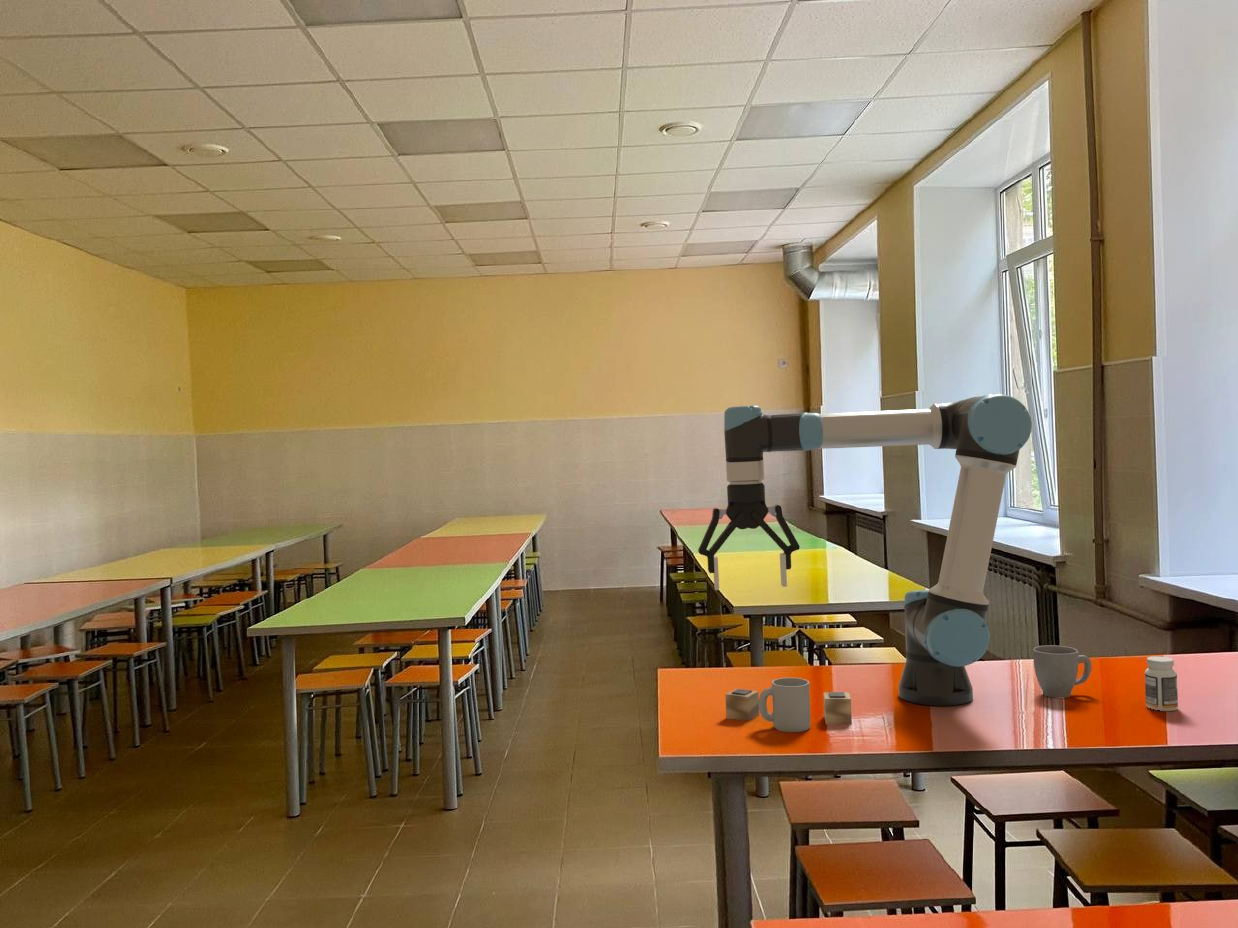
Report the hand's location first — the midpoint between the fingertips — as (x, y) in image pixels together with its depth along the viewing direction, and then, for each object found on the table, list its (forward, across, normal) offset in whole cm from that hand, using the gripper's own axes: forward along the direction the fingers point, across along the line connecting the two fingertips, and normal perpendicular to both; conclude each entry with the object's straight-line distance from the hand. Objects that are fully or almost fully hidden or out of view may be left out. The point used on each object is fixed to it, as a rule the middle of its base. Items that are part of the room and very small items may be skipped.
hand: (750, 587), depth 200 cm
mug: (+28, -67, -10) cm, 73 cm away
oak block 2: (+27, -16, +3) cm, 31 cm away
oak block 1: (+27, +3, -2) cm, 27 cm away
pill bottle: (+28, -80, +3) cm, 85 cm away
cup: (+27, -5, +7) cm, 28 cm away
